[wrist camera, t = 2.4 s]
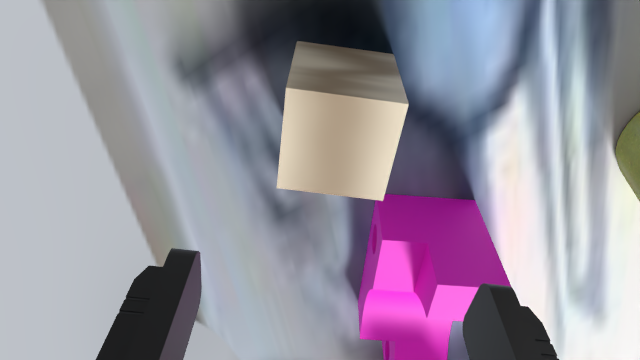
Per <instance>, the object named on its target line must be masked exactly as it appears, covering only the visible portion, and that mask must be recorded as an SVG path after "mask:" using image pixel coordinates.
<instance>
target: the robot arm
mask: <svg viewBox="0 0 640 360" xmlns="http://www.w3.org/2000/svg"><path fill="white" fill-rule="evenodd" d="M200 298H201V260H200V252H199V251H192V250H183V249H173V248H172V249H171V250H170V252H169V254H168V256H167V259H166V261H165V264H164V266H163V267H157V266H148V267H147V268H146V269H145V270H144V271H143V272H142V273H141V274H140V275H138V276H137V277H136V278H135V279H134V281H133V283H132V285H131V287H130V289H129V291H128V293H127V295H126V299H125V300H124V302H123V304H122V306H121V308H120V312H119V314H118V315H117V316H116V319H115V321H114V323H113V325H112V327H111V329H110V331H109V333H108V335H107V337H106V339H105V342H104V344H103V346H102V348H101V350H100V352H99V354H98V356H97V358H96V360H183V358H184V355H185V351H186V348H187V345H188V341H189V338H190V335H191V331H192V328H193V325H194V322H195V318H196V315H197V312H198V308H199V304H200ZM463 337H464V341H465V344H466V348H467V351H468V355H469V358H470V360H559V359H557V354H556V352H555V350H554V348H553V345H552V344H550V339H549V337H548V335H547V332H546V330H545V328H544V326H543V324H542V322H541V321H540V320H539V319H538V318H537V317H536V315H535V314H534V313H533V312H532V311H531V310H530V309H529V307H525V306H520V304H519V301H518V299H517V297H516V294H515V292H514V290H513V289H512V288H511V287H510V286H505V285H496V284H487V283H483V284H481V285H480V287H479V288H478V290H477V292H476V294H475V296H474V298H473V300H472V302H471V304H470V306H469V308H468V310H467V312H466V314H465V316H464V320H463Z"/></svg>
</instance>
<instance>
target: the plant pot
mask: <svg viewBox="0 0 640 360" xmlns="http://www.w3.org/2000/svg"><path fill="white" fill-rule="evenodd" d="M616 158H617V162H618V166H619V169H620V171H621V172H622V174H623V176H624V177H625V179H626V180H627V182H628V184H629V185H630V187H631V188H632V190H633V192H634V193H635V195H636V196H637V198H638V200H639V201H640V112H639V113H637V114H636V115H635V116H634V117H633V118H632V119H631V121H630V122H629V123H628V124H627V125H626V127H625V128H624V130H623V131H622V133H621V135H620V137H619V140H618V142H617V146H616Z"/></svg>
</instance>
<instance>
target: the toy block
mask: <svg viewBox="0 0 640 360" xmlns="http://www.w3.org/2000/svg"><path fill="white" fill-rule="evenodd" d="M483 283H487V284H496V285H505V286H510V287H511V285H510V282H509V280H508V278H507V275H506V273H505V271H504V268H503V266H502V263H501V261H500V259H499V256H498V254H497V252H496V249H495V247H494V244H493V242H492V240H491V237H490V235H489V232H488V230H487V228H486V225H485V223H484V221H483V218H482V216H481V213H480V211H479V209H478V206H477V204H476V202H475V200H464V199H450V198H436V197H421V196H407V195H393V194H385V195H384V199H383V201H379V200H375V206H374V212H373V217H372V223H371V229H370V235H369V241H368V246H367V252H366V258H365V264H364V270H363V276H362V281H361V287H360V293H359V299H358V309H359V329H360V339H368V340H382V347H383V357H384V360H447V355H448V343H449V336H450V330H451V325H452V322H453V321H463V320H464V316H465V314H466V312H467V310H468V308H469V306H470V304H471V302H472V300H473V298H474V296H475V294H476V292H477V290H478V288H479V287H480V285H481V284H483ZM511 288H512V287H511Z"/></svg>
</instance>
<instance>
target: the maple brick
mask: <svg viewBox="0 0 640 360" xmlns="http://www.w3.org/2000/svg"><path fill="white" fill-rule="evenodd" d="M408 105H409V103H408V100H407V97H406V93H405V90H404V87H403V84H402V80H401V77H400V74H399V71H398V67H397V64H396V61H395V58H394V54H389V53H381V52H374V51H367V50H360V49H353V48H345V47H338V46H331V45H324V44H317V43H309V42H302V41H297V43H296V47H295V51H294V56H293V60H292V64H291V68H290V73H289V77H288V81H287V85H286V93H285V104H284V115H283V126H282V137H281V148H280V159H279V170H278V181H277V188H282V189H290V190H298V191H306V192H314V193H322V194H331V195H339V196H347V197H355V198H363V199H371V200H379V201H383V199H384V195H385V191H386V188H387V184H388V180H389V176H390V173H391V169H392V165H393V161H394V158H395V154H396V150H397V147H398V143H399V139H400V135H401V132H402V128H403V124H404V120H405V117H406V113H407V109H408Z"/></svg>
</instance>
